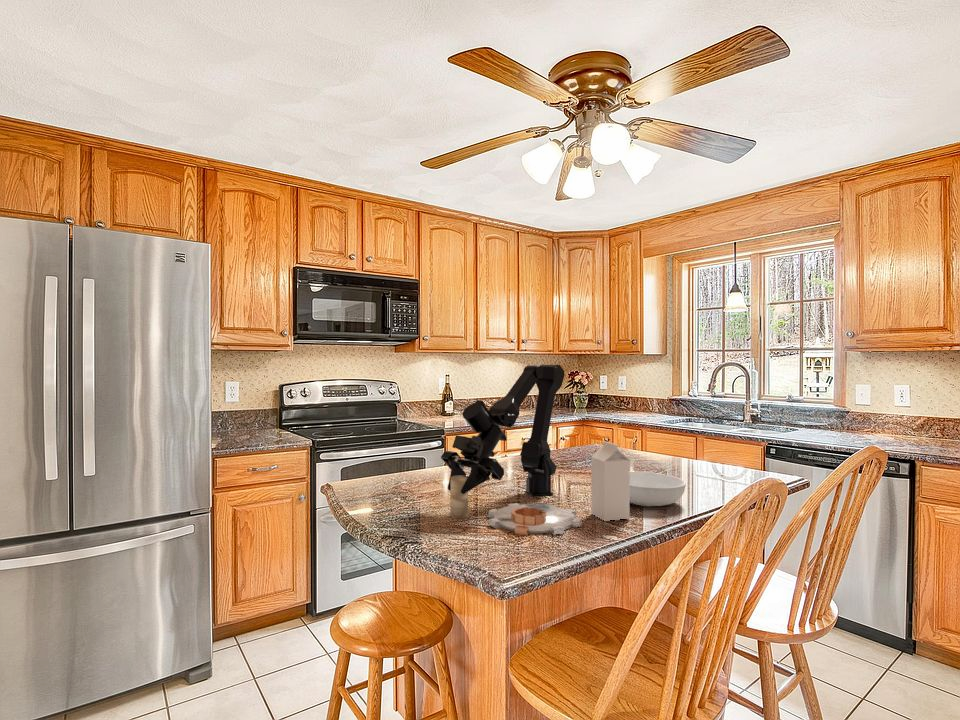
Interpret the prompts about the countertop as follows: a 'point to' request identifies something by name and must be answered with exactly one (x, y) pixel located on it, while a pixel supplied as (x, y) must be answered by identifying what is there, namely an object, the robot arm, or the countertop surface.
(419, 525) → the countertop surface
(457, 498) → the drive pin
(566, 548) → the countertop surface
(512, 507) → the sprocket wheel
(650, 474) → the serving bowl
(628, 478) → the milk carton
